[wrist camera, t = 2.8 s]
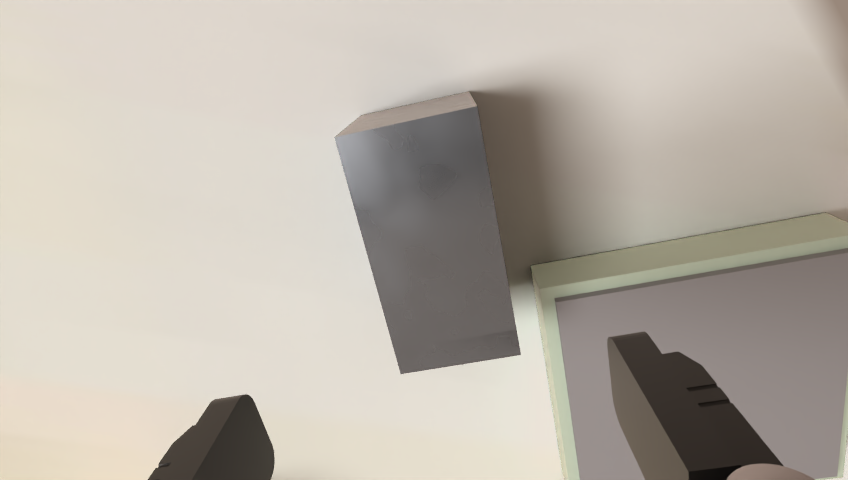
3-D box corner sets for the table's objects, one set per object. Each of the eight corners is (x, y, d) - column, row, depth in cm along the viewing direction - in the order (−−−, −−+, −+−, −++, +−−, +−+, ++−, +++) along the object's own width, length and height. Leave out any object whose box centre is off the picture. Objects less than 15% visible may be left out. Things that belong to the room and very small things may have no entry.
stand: (530, 265, 25) (541, 293, 22) (825, 212, 24) (877, 234, 21) (562, 472, 30) (574, 516, 27) (809, 440, 28) (848, 483, 26)
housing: (361, 115, 23) (334, 137, 17) (468, 91, 22) (477, 106, 17) (410, 304, 26) (400, 374, 21) (503, 287, 26) (520, 354, 20)
